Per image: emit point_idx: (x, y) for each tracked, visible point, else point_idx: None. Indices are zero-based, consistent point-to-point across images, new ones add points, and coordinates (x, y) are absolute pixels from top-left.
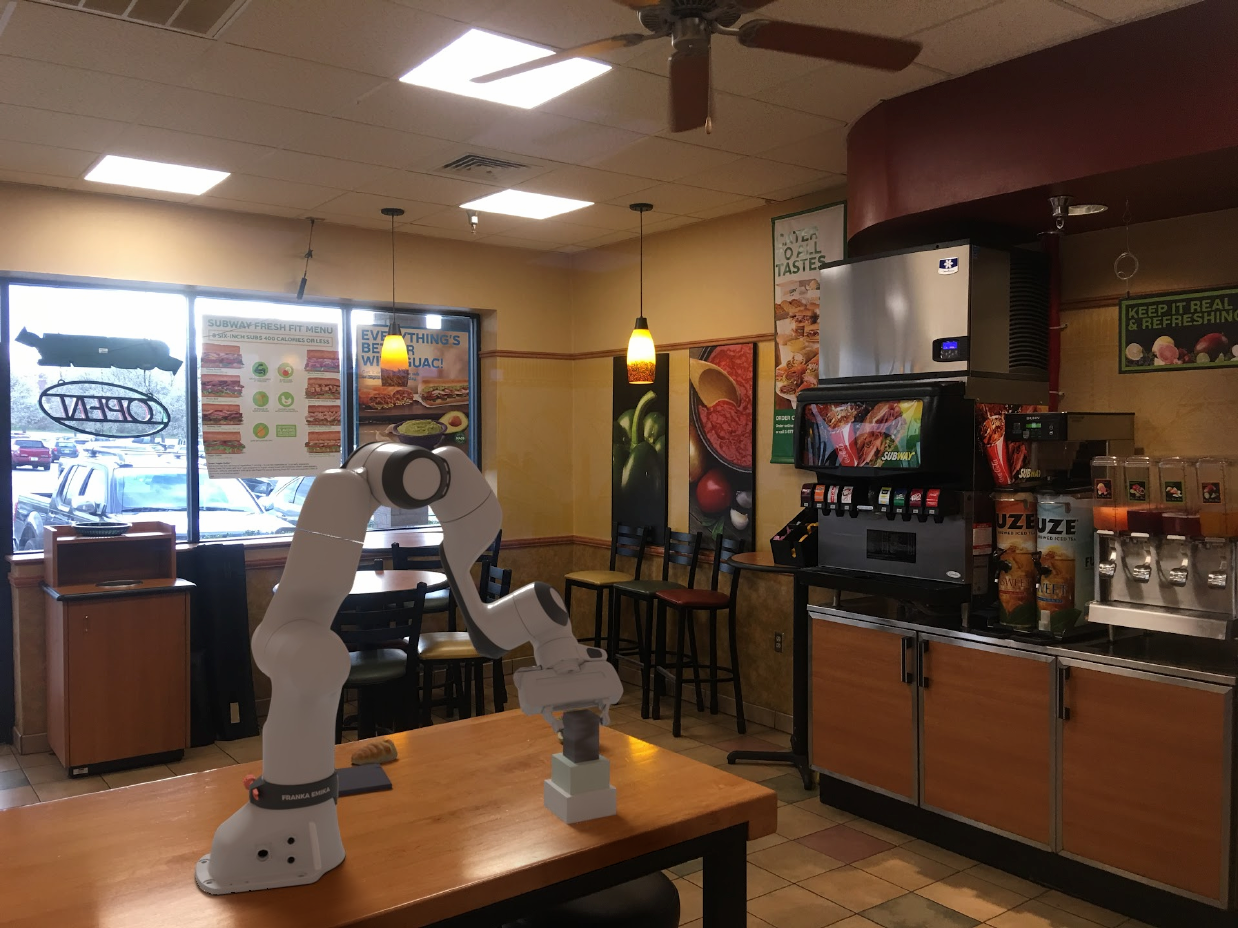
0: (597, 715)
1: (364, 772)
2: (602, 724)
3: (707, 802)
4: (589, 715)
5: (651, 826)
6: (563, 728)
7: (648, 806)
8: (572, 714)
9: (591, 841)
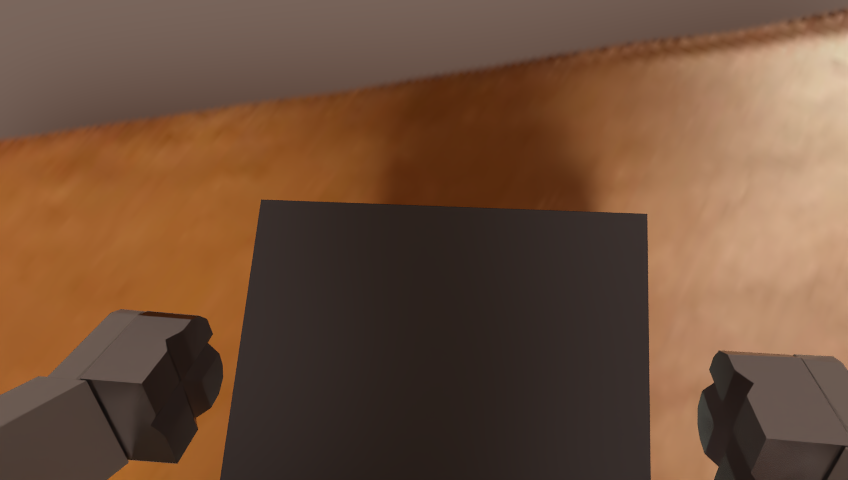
0: (271, 229)
1: None
2: (210, 348)
3: (49, 191)
4: (360, 285)
5: (338, 105)
6: (721, 354)
7: (235, 263)
8: (559, 465)
9: (589, 89)
